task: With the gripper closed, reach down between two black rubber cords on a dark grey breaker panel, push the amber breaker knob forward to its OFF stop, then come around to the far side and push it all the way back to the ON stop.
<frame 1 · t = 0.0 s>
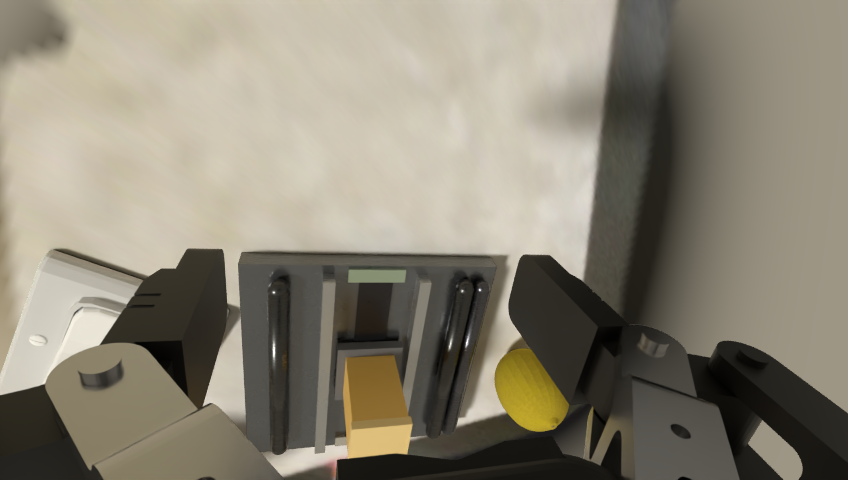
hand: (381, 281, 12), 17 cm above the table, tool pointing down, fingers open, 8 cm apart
light switch: (119, 342, 30), on the table
panel: (364, 351, 35), on the table
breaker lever: (372, 403, 30), point 5 cm above the table, slide at 5.0 cm
lemon: (509, 352, 39), on the table
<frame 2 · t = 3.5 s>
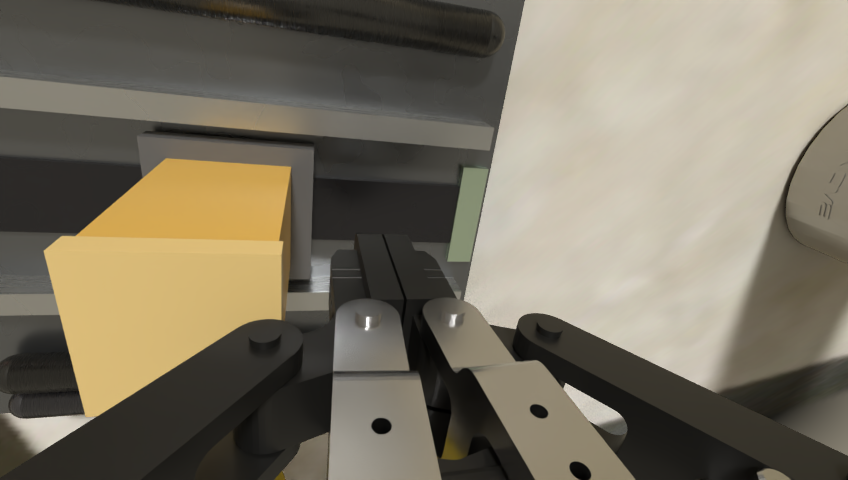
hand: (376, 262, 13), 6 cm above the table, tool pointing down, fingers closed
panel: (249, 190, 16), on the table
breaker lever: (216, 255, 12), point 5 cm above the table, slide at 5.2 cm, touching gripper
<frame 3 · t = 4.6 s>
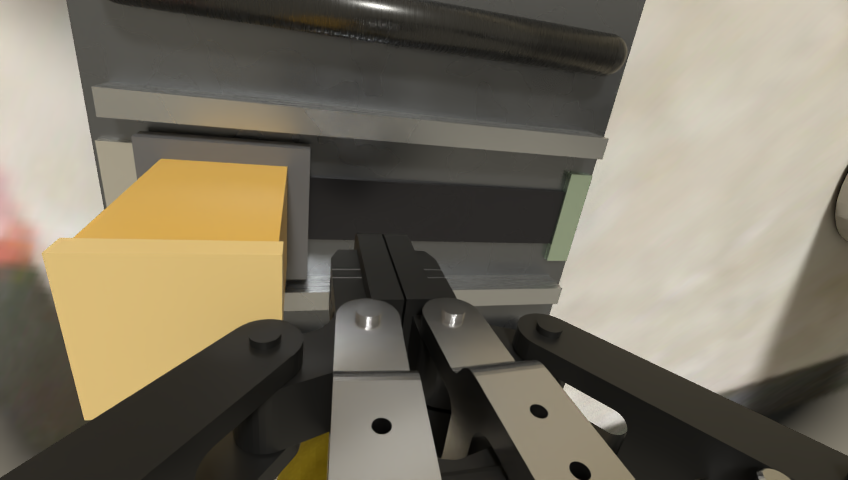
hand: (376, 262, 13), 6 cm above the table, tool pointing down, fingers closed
panel: (372, 196, 18), on the table
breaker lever: (213, 255, 12), point 5 cm above the table, slide at 10.1 cm, touching gripper
lemon: (330, 429, 23), on the table
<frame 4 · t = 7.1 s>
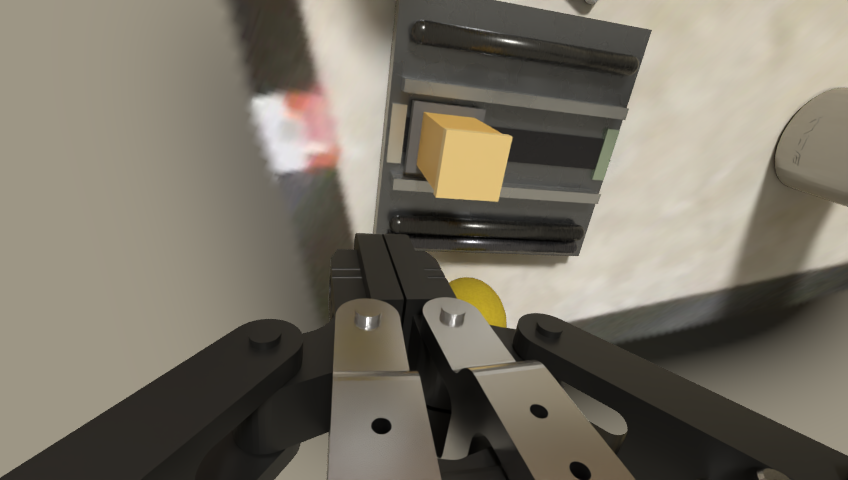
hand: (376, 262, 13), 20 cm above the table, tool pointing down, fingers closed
panel: (499, 140, 33), on the table
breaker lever: (456, 151, 27), point 5 cm above the table, slide at 10.0 cm
lemon: (455, 287, 38), on the table
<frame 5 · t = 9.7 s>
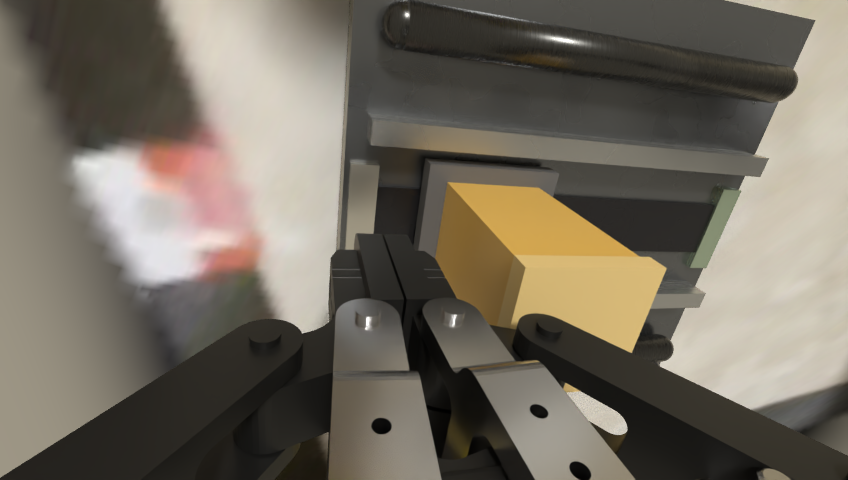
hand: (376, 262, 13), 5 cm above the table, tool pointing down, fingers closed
panel: (539, 209, 19), on the table
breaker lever: (516, 265, 14), point 5 cm above the table, slide at 8.7 cm, touching gripper
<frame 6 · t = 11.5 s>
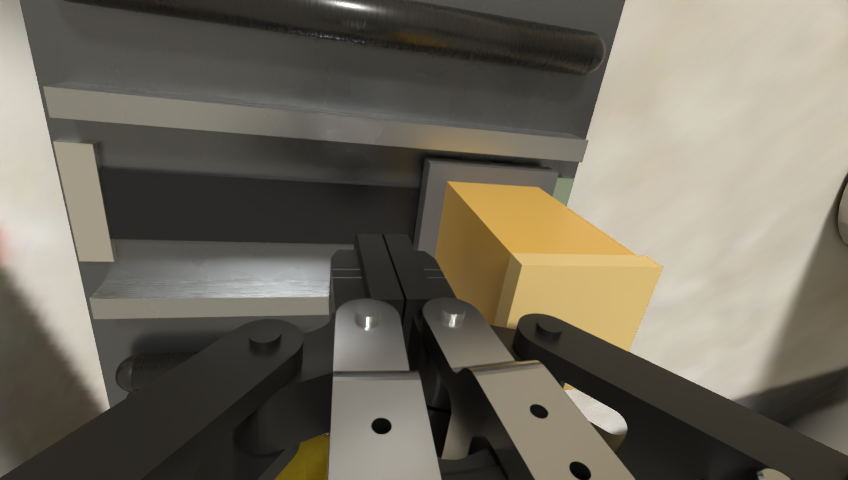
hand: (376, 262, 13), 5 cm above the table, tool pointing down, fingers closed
panel: (346, 199, 17), on the table
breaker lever: (514, 264, 14), point 5 cm above the table, slide at 0.0 cm, touching gripper
lemon: (310, 435, 23), on the table
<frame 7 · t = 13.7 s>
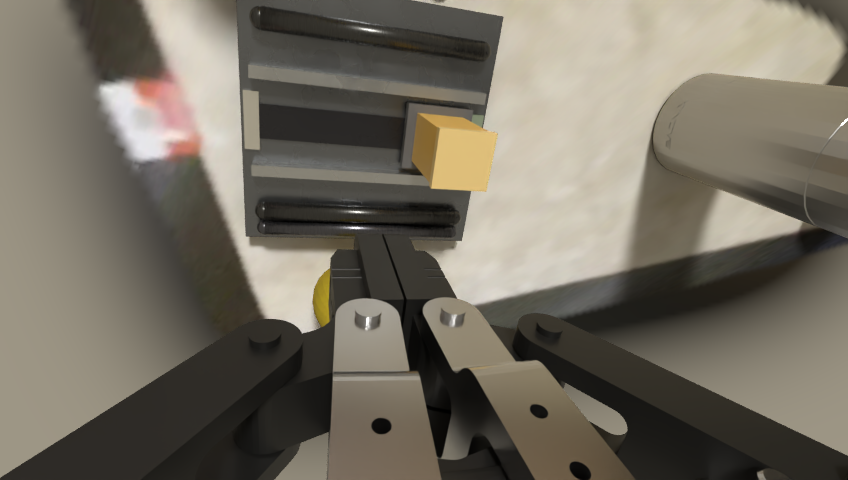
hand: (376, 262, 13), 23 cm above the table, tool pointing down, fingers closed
panel: (367, 126, 33), on the table
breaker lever: (447, 148, 30), point 5 cm above the table, slide at 0.0 cm
lemon: (343, 274, 39), on the table
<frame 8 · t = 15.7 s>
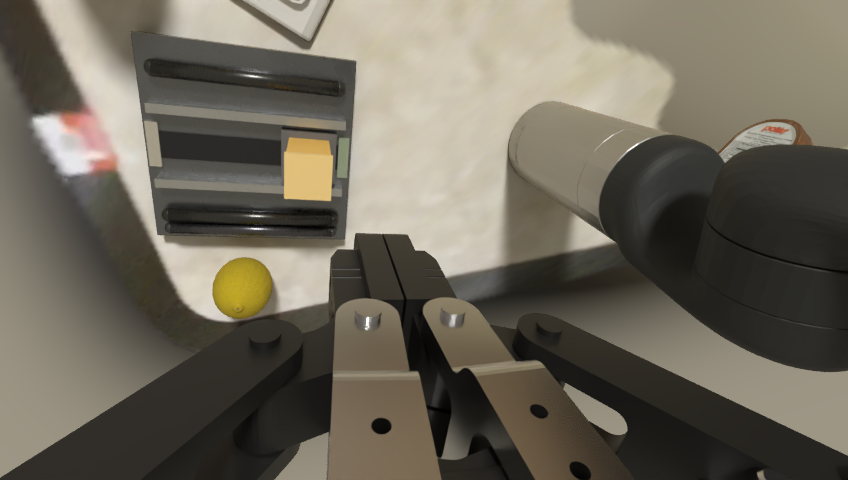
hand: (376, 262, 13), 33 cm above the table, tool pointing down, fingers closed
tin: (712, 162, 56), on the table
panel: (255, 147, 42), on the table
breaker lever: (308, 166, 38), point 5 cm above the table, slide at 0.0 cm
lemon: (248, 266, 47), on the table
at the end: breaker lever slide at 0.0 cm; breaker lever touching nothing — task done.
